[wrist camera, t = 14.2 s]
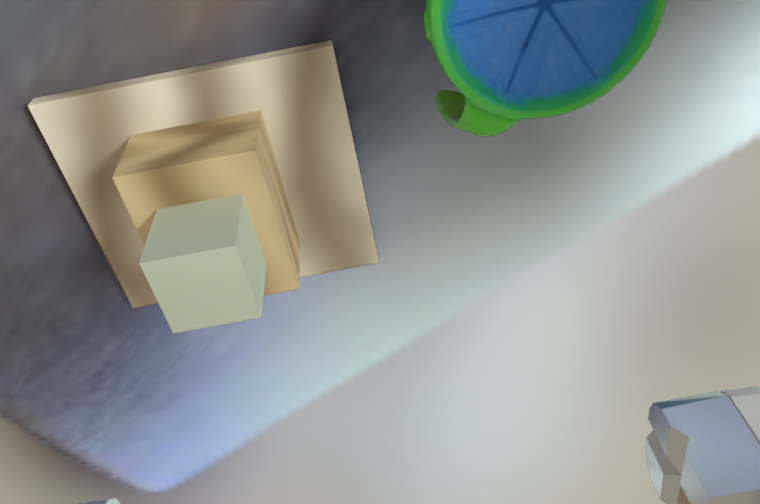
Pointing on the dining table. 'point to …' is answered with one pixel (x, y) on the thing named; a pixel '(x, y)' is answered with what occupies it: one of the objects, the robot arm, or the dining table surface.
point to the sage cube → (205, 263)
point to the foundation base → (209, 96)
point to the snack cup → (533, 55)
